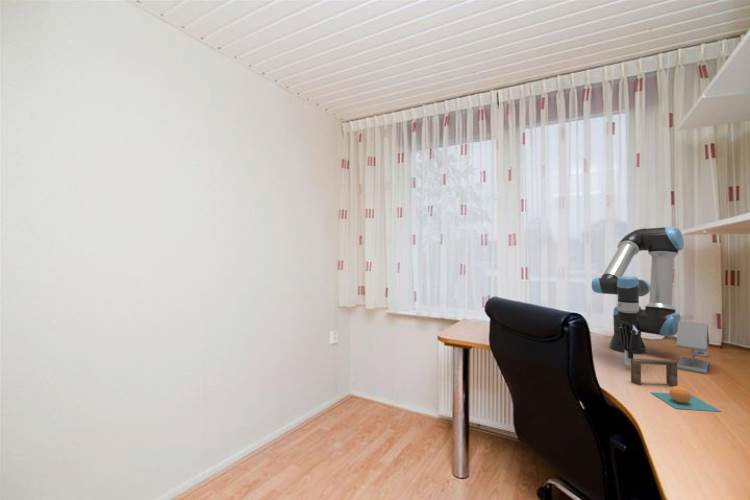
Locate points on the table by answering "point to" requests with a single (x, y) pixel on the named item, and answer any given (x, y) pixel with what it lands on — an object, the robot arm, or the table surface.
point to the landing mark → (691, 405)
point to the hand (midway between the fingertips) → (629, 364)
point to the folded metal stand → (692, 345)
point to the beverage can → (701, 352)
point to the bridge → (670, 364)
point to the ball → (680, 394)
